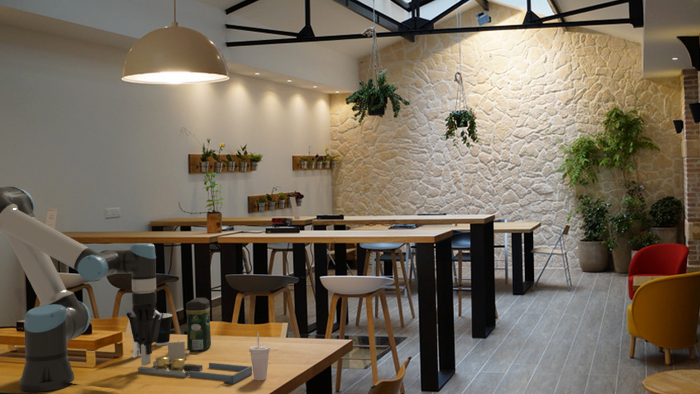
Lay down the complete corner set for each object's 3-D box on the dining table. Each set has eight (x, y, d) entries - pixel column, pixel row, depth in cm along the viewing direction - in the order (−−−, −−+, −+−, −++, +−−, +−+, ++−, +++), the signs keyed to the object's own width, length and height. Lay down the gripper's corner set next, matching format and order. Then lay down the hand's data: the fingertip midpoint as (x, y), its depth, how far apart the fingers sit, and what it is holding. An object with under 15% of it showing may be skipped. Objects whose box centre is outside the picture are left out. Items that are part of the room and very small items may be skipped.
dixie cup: (157, 347, 248) (156, 318, 247) (147, 344, 253) (146, 315, 253) (176, 343, 253) (176, 315, 253) (166, 340, 259) (166, 312, 259)
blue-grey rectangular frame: (233, 384, 199) (233, 375, 199) (189, 379, 205) (189, 371, 205) (251, 374, 209) (251, 366, 209) (210, 370, 215) (209, 362, 215)
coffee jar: (192, 345, 250) (191, 296, 249) (213, 345, 249) (212, 296, 249) (184, 352, 240) (183, 300, 240) (205, 352, 240) (204, 300, 239)
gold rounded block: (163, 372, 210) (163, 359, 210) (153, 371, 211) (153, 358, 211) (171, 369, 214) (171, 356, 213) (161, 368, 215) (161, 355, 215)
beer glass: (154, 354, 238) (153, 312, 238) (147, 359, 231) (146, 316, 231) (136, 354, 238) (135, 312, 238) (127, 359, 232) (126, 316, 231)
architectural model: (169, 362, 228) (168, 340, 228) (189, 361, 229) (189, 339, 229) (167, 364, 225) (167, 342, 225) (188, 363, 226) (188, 341, 226)
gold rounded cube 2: (179, 374, 208) (179, 361, 208) (169, 373, 209) (168, 360, 209) (187, 370, 211) (186, 358, 211) (176, 369, 213) (176, 357, 213)
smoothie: (260, 374, 209) (259, 330, 209) (275, 378, 205) (274, 332, 205) (245, 379, 204) (244, 334, 204) (259, 383, 200) (258, 336, 200)
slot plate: (185, 380, 204) (185, 372, 204) (138, 375, 211) (137, 367, 210) (202, 373, 212) (202, 365, 212) (156, 368, 219) (156, 360, 219)
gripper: (168, 290, 216) (170, 362, 216) (135, 288, 220) (137, 359, 221) (153, 294, 209) (155, 369, 209) (120, 292, 213) (121, 365, 214)
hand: (146, 364), depth 215 cm, fingers closed
